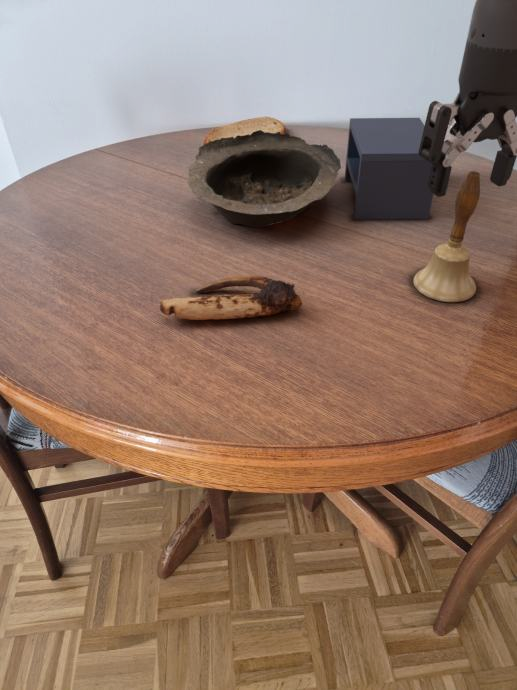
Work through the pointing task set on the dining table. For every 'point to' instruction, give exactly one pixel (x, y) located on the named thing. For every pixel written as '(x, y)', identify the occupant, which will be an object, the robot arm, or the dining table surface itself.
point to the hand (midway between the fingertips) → (467, 188)
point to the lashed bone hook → (235, 300)
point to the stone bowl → (262, 176)
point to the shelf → (388, 169)
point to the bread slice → (246, 128)
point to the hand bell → (452, 253)
